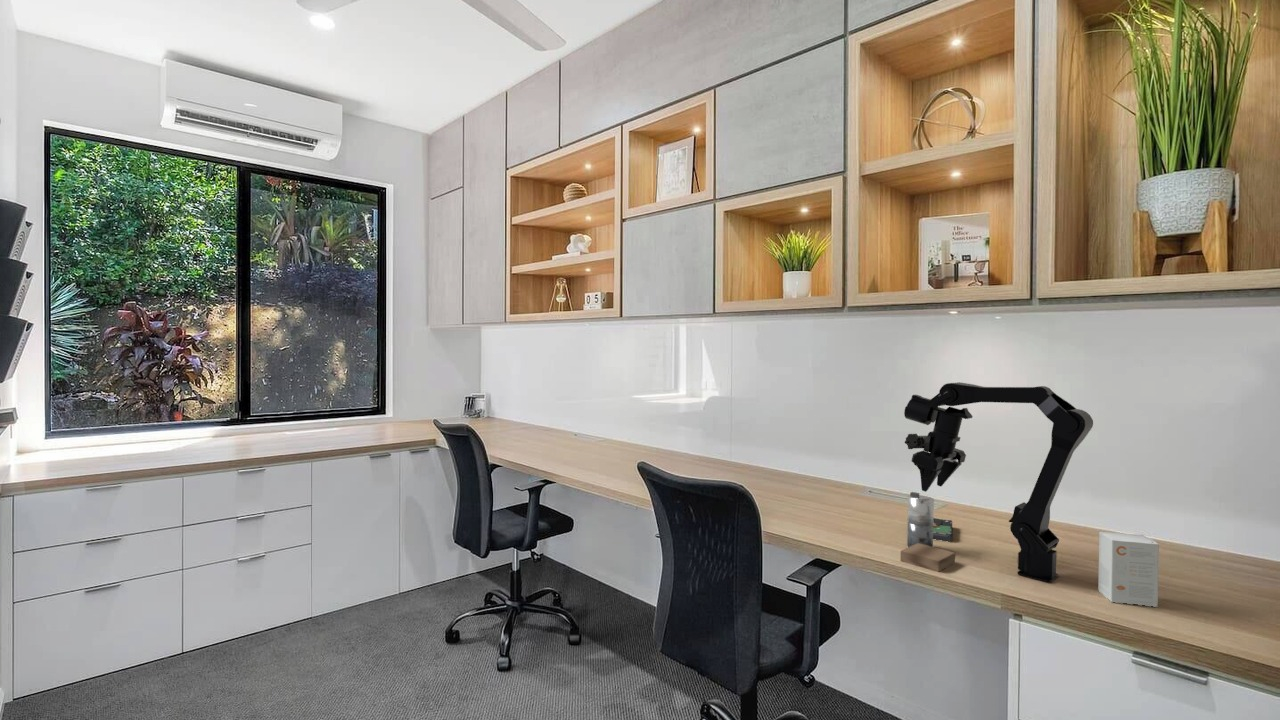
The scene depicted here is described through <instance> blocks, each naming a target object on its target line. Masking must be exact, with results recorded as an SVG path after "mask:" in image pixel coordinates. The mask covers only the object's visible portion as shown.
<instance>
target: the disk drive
mask: <svg viewBox="0 0 1280 720" xmlns="http://www.w3.org/2000/svg"><path fill="white" fill-rule="evenodd" d="M933 539H936V540H935V541H939V540H942V541H941V542H946V541H948V543H952V540H953V520H952V519H951V520H950V519H943V518H942V519H940V518H934V517H933Z"/></svg>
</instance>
